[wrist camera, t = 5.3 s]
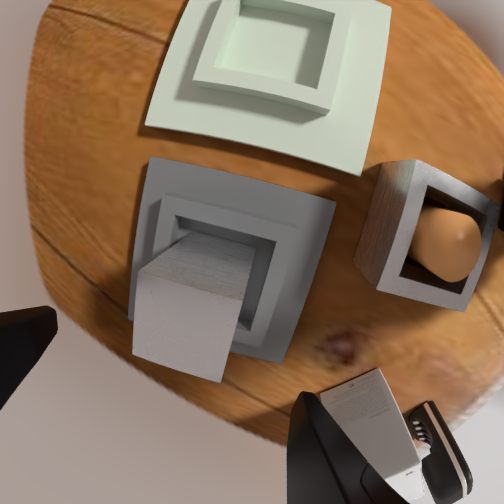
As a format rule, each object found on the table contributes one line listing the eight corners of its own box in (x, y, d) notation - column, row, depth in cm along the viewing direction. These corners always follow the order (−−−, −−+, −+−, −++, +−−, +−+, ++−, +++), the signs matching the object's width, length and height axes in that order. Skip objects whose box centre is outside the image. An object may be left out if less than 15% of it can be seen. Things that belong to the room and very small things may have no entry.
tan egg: (444, 213, 16) (488, 226, 11) (428, 262, 17) (467, 288, 12) (403, 195, 16) (444, 204, 11) (387, 248, 17) (422, 273, 12)
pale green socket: (387, 13, 13) (398, -2, 11) (356, 176, 17) (368, 176, 15) (208, -25, 13) (201, -42, 11) (150, 127, 17) (134, 121, 15)
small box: (318, 391, 21) (333, 496, 11) (379, 364, 20) (423, 462, 10) (344, 436, 23) (359, 521, 13) (395, 415, 22) (426, 496, 12)
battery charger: (398, 415, 22) (432, 503, 11) (431, 396, 21) (474, 478, 10) (410, 441, 23) (437, 515, 12) (439, 425, 22) (472, 495, 11)
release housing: (458, 197, 17) (500, 205, 12) (430, 284, 18) (464, 312, 14) (381, 162, 17) (416, 158, 12) (352, 261, 18) (376, 289, 14)
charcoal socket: (333, 201, 17) (342, 204, 15) (281, 356, 21) (281, 376, 18) (156, 157, 18) (140, 155, 15) (133, 313, 21) (119, 328, 18)
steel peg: (256, 247, 18) (242, 301, 10) (241, 304, 19) (220, 383, 11) (194, 230, 18) (138, 270, 10) (183, 287, 19) (132, 354, 11)
